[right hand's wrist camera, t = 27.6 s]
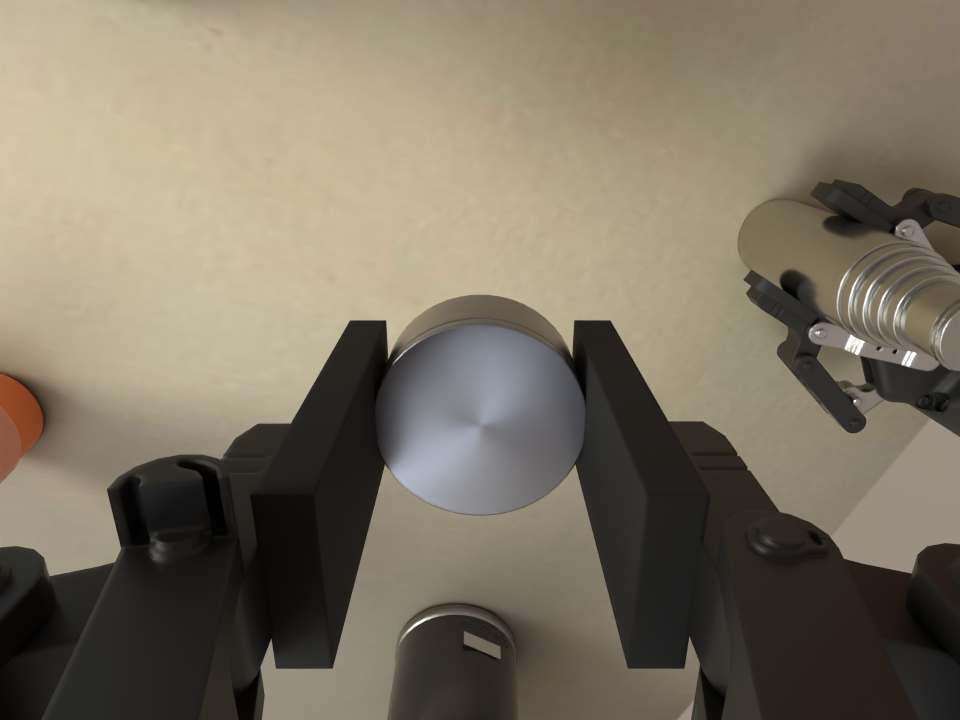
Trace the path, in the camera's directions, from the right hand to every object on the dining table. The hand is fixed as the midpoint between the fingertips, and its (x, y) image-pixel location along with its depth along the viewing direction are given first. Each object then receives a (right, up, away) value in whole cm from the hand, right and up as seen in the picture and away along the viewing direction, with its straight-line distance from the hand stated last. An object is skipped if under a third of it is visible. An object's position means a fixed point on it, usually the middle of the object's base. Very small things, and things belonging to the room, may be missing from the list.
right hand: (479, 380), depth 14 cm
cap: (0, -1, -1) cm, 2 cm away
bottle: (+18, +8, +26) cm, 33 cm away
